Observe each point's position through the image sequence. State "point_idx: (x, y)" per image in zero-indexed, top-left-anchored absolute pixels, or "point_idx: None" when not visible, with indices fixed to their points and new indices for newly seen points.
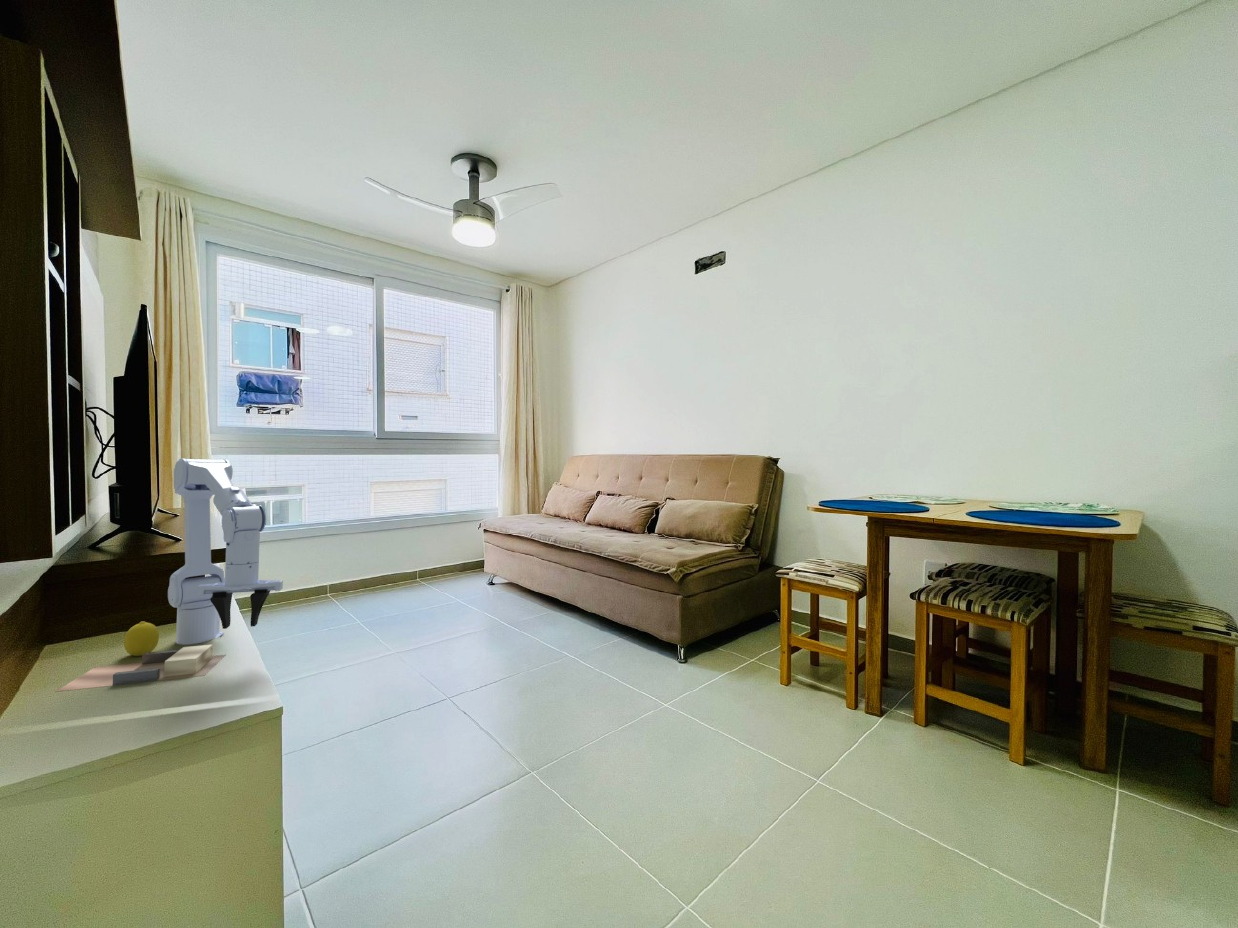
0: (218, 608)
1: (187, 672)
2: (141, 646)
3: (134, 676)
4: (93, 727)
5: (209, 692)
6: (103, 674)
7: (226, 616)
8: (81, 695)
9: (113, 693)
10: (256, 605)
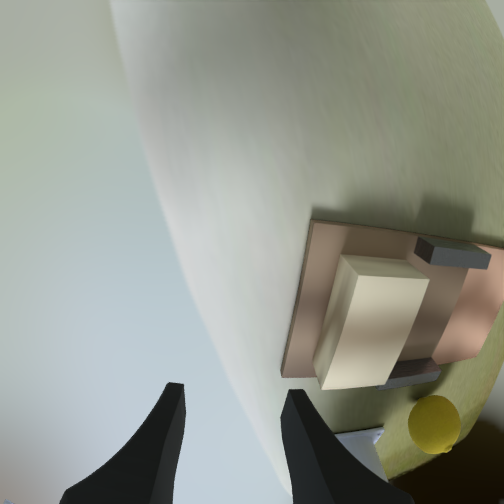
0: (354, 469)
1: (361, 258)
2: (435, 405)
3: (460, 247)
4: (447, 28)
5: (273, 91)
6: (477, 318)
7: (300, 439)
8: (497, 233)
9: (468, 216)
10: (124, 466)
